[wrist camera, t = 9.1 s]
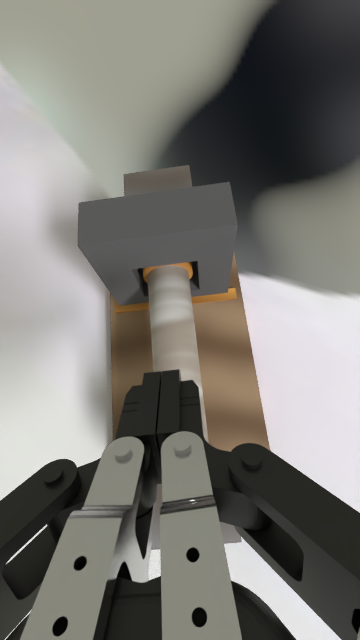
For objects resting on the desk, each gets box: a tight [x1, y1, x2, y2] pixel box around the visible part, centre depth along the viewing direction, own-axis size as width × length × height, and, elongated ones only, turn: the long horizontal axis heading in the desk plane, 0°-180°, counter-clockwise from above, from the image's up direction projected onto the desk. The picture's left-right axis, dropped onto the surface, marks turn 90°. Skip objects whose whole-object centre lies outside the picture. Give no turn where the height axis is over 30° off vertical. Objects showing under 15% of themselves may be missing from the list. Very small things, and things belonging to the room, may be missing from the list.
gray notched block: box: [78, 182, 238, 306], centre depth 22 cm, size 3×9×9 cm, turn 95°
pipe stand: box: [110, 165, 270, 550], centre depth 23 cm, size 25×12×9 cm, turn 5°
